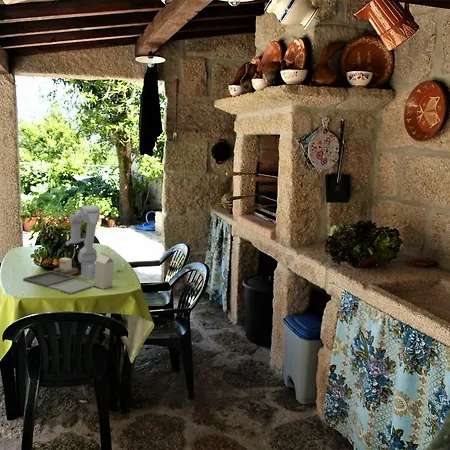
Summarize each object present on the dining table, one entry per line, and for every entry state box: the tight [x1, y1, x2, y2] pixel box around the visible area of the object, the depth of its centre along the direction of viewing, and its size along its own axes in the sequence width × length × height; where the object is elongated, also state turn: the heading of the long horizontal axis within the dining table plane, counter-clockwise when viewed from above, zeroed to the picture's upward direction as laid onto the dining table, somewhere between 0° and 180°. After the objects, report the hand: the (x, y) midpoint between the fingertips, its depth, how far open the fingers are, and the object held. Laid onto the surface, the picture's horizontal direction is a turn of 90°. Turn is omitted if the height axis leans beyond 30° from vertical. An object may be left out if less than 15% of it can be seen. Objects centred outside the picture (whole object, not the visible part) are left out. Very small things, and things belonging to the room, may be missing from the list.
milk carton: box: [93, 252, 115, 290], centre depth 283 cm, size 7×7×19 cm
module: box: [59, 257, 73, 270], centre depth 305 cm, size 6×4×6 cm
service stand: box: [53, 266, 79, 276], centre depth 306 cm, size 10×10×3 cm
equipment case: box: [22, 270, 97, 295], centre depth 286 cm, size 38×20×2 cm, turn 60°
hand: (75, 254), depth 315 cm, fingers open, 7 cm apart
